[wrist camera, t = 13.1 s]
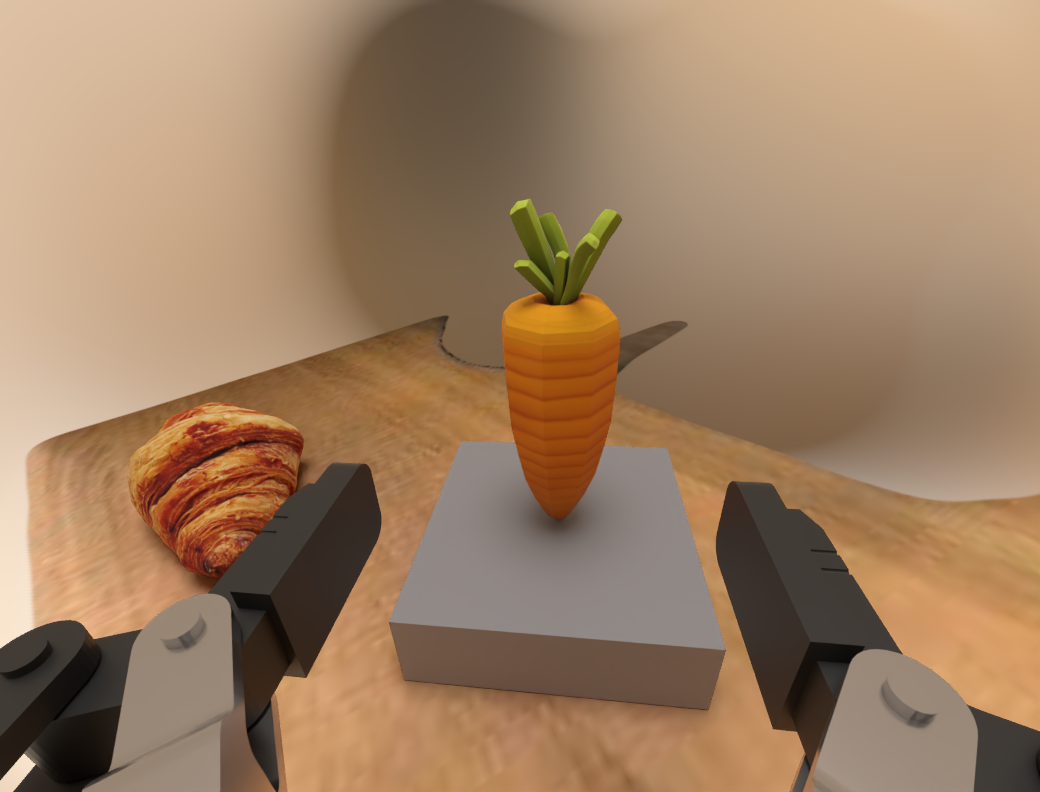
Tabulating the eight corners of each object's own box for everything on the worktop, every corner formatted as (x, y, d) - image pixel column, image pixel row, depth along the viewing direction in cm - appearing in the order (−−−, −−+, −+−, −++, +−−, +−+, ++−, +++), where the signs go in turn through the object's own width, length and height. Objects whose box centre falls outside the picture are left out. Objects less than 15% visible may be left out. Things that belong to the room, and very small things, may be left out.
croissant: (202, 471, 41) (113, 415, 36) (294, 395, 43) (222, 332, 38) (210, 662, 25) (50, 608, 20) (357, 526, 27) (246, 447, 22)
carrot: (614, 496, 25) (637, 191, 18) (598, 566, 20) (620, 203, 13) (526, 480, 26) (515, 193, 19) (495, 543, 22) (466, 204, 15)
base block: (659, 498, 30) (666, 448, 28) (708, 709, 19) (725, 650, 17) (466, 488, 32) (461, 440, 30) (404, 680, 20) (388, 622, 18)
